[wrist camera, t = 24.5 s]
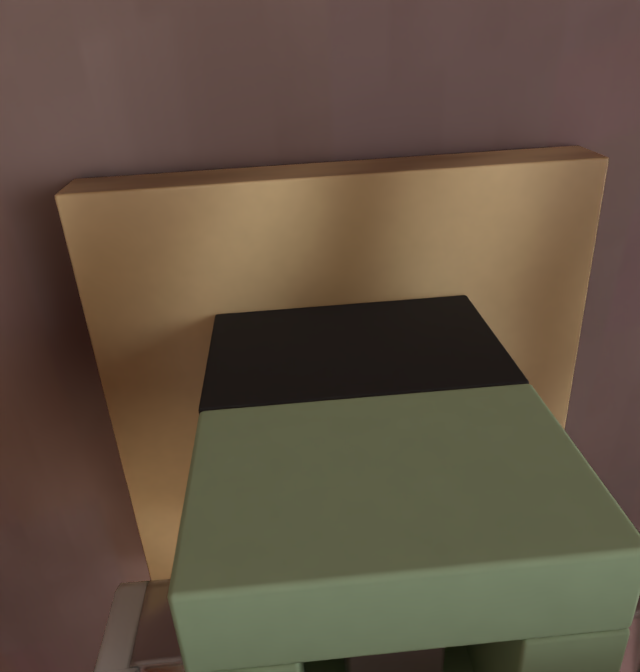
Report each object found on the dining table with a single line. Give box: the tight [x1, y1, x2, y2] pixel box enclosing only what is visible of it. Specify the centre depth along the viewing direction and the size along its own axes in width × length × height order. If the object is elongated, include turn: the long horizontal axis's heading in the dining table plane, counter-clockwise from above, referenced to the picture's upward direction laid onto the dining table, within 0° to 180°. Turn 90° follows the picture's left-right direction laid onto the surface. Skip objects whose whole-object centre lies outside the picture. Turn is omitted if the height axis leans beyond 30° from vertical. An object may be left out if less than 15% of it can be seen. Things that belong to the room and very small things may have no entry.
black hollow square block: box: [198, 295, 529, 414], centre depth 14 cm, size 6×6×4 cm
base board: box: [55, 145, 609, 672], centre depth 13 cm, size 12×12×8 cm
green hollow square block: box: [167, 384, 640, 672], centre depth 11 cm, size 6×6×4 cm
